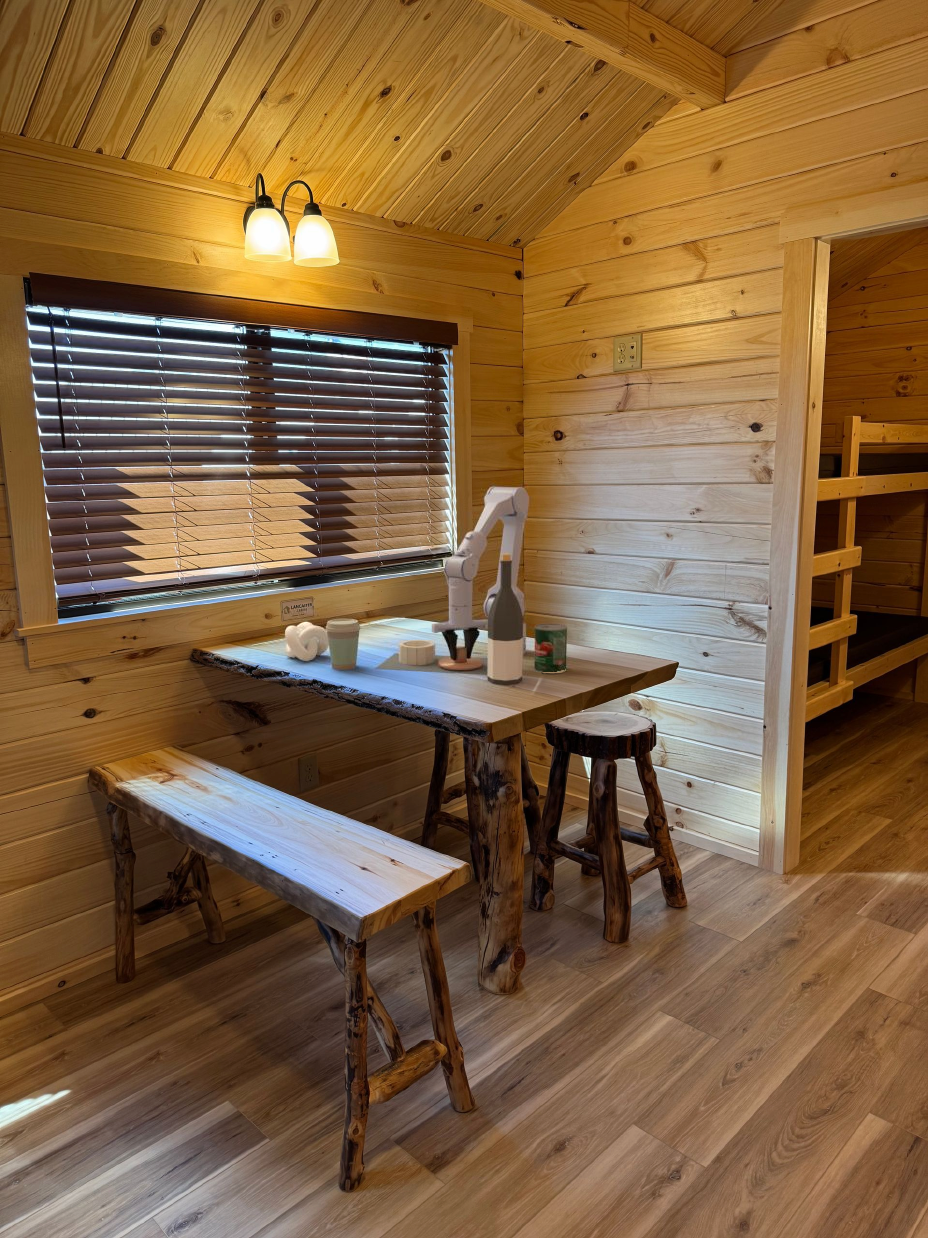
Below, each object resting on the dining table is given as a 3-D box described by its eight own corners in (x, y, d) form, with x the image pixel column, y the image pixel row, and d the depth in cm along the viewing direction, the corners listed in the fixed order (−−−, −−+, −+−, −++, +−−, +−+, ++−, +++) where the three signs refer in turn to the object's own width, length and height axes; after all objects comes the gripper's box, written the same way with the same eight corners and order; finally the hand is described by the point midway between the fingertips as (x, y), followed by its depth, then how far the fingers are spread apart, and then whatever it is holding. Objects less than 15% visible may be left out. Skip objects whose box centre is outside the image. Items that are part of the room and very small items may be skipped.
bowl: (438, 657, 217) (438, 640, 217) (429, 666, 209) (429, 648, 208) (405, 656, 219) (404, 639, 218) (395, 664, 211) (394, 646, 210)
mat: (499, 660, 217) (499, 658, 217) (486, 676, 200) (486, 674, 200) (395, 655, 223) (394, 653, 222) (374, 670, 206) (374, 668, 206)
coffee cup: (366, 666, 211) (365, 619, 209) (353, 674, 203) (352, 625, 200) (335, 663, 213) (334, 617, 211) (320, 671, 205) (319, 623, 203)
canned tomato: (571, 668, 208) (572, 625, 206) (558, 675, 202) (559, 630, 200) (542, 664, 212) (543, 622, 210) (528, 671, 206) (529, 627, 204)
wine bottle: (480, 682, 196) (481, 554, 190) (503, 676, 201) (505, 551, 196) (505, 689, 190) (507, 557, 184) (529, 682, 195) (531, 554, 190)
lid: (486, 660, 213) (486, 644, 212) (477, 671, 202) (478, 653, 201) (444, 658, 215) (444, 642, 214) (433, 668, 205) (433, 651, 204)
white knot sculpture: (313, 665, 211) (312, 630, 210) (272, 662, 215) (270, 627, 213) (334, 655, 222) (333, 622, 220) (294, 652, 226) (293, 619, 224)
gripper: (481, 600, 212) (480, 652, 215) (427, 604, 207) (427, 657, 209) (492, 604, 206) (492, 658, 208) (437, 608, 200) (437, 664, 203)
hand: (460, 658), depth 208 cm, fingers closed on lid, 3 cm apart
